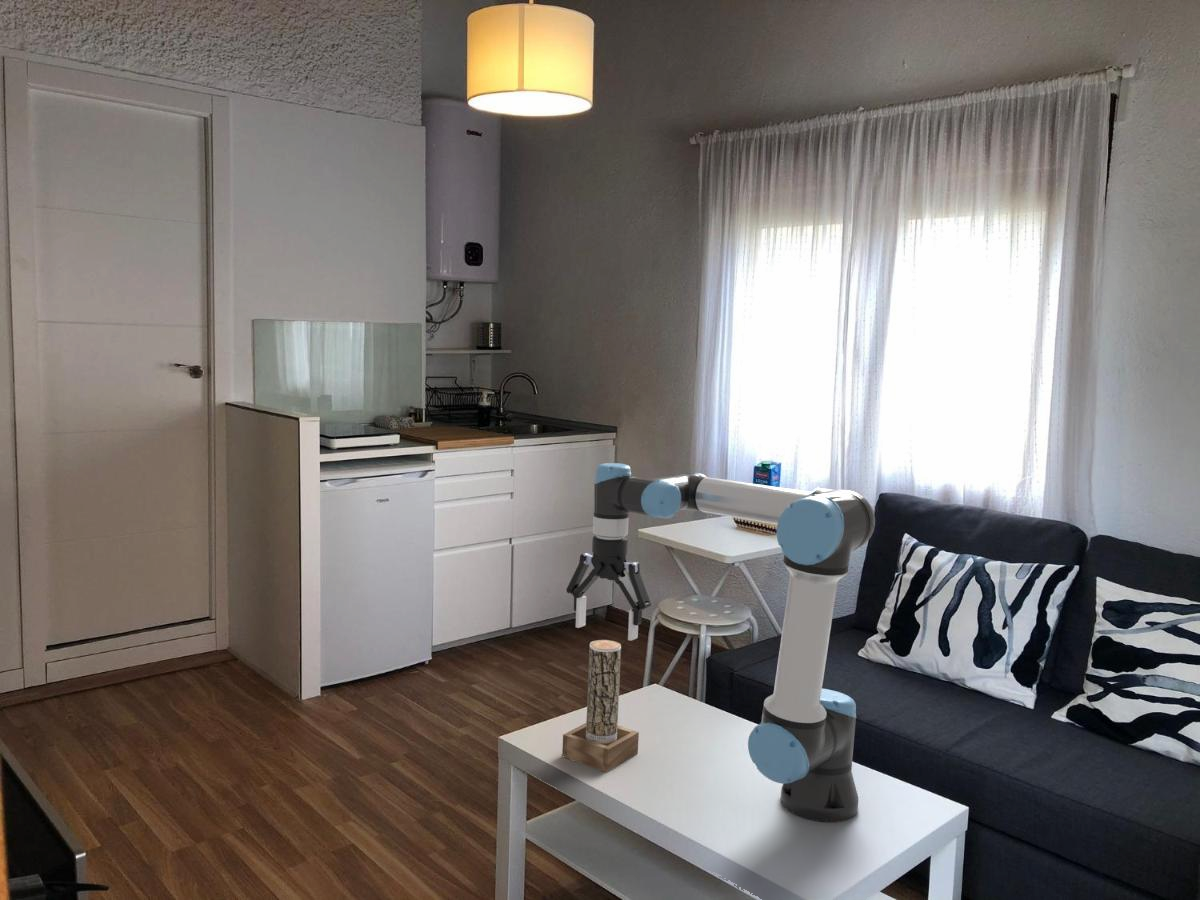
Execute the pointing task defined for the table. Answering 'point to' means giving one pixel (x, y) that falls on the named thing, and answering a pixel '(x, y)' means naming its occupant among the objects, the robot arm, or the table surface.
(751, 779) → the table surface
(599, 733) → the paper tube
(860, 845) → the table surface
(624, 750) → the holder
